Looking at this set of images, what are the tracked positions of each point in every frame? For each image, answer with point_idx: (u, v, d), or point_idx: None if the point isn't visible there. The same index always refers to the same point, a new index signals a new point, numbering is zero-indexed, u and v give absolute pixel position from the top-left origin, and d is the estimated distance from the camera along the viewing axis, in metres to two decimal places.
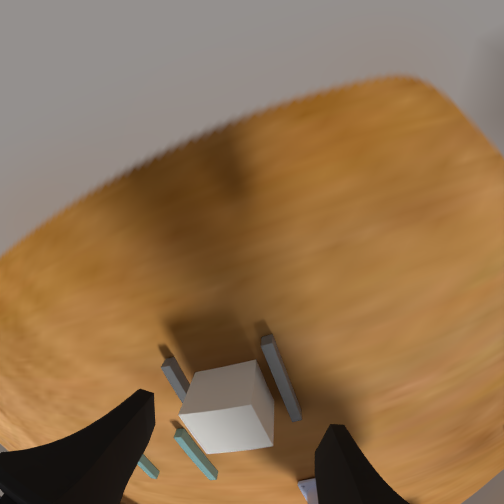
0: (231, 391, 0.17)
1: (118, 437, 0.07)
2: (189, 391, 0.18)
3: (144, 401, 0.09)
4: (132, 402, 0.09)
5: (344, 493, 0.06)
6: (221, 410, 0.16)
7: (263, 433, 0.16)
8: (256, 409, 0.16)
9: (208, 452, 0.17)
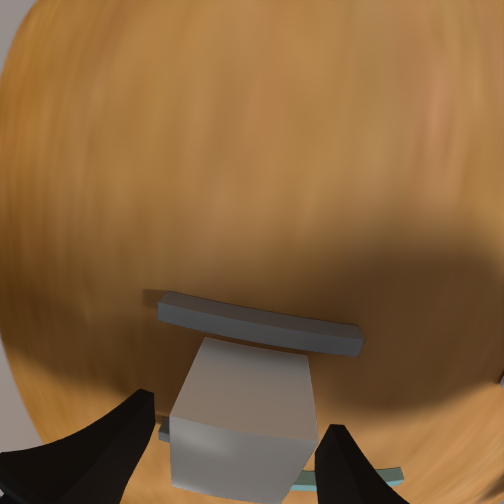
0: None
1: (118, 437, 0.07)
2: None
3: (144, 401, 0.09)
4: (132, 402, 0.09)
5: (344, 493, 0.06)
6: (172, 450, 0.08)
7: (267, 439, 0.07)
8: (203, 413, 0.08)
9: (277, 502, 0.08)
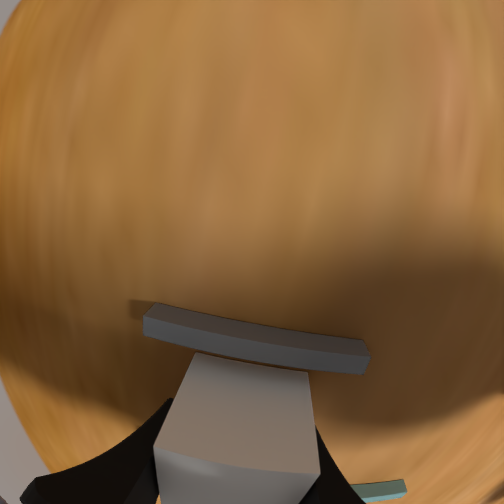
0: None
1: None
2: None
3: None
4: (165, 412, 0.09)
5: (306, 494, 0.06)
6: (158, 478, 0.06)
7: (263, 473, 0.06)
8: (191, 444, 0.06)
9: None
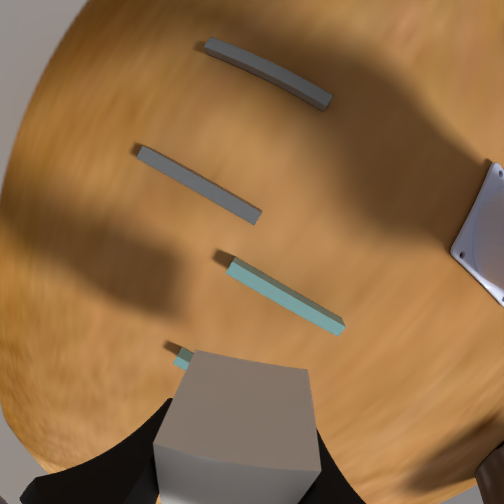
0: None
1: None
2: None
3: None
4: (165, 412, 0.09)
5: (306, 494, 0.06)
6: (159, 476, 0.06)
7: (263, 470, 0.06)
8: (190, 441, 0.06)
9: None
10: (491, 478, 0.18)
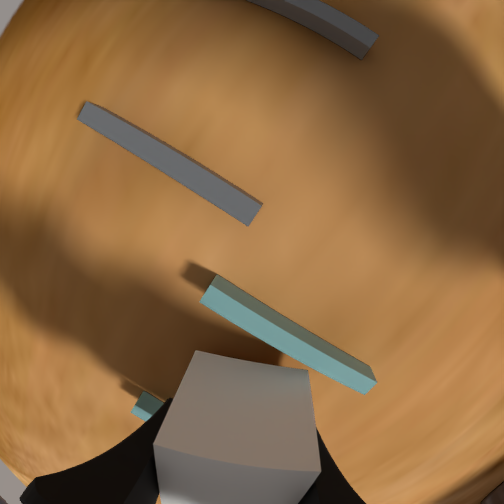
0: None
1: None
2: None
3: None
4: (165, 412, 0.09)
5: (306, 494, 0.06)
6: (159, 476, 0.06)
7: (263, 470, 0.06)
8: (191, 442, 0.06)
9: None
10: None
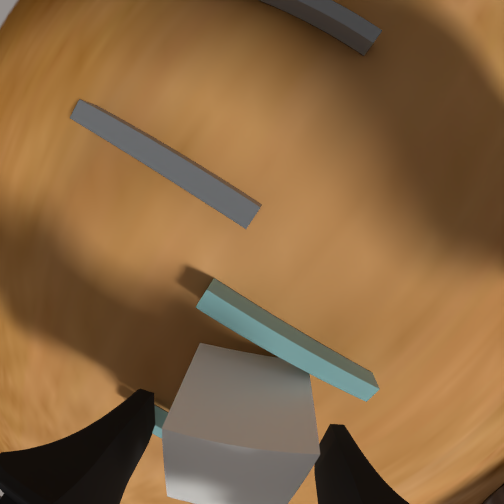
0: None
1: (118, 437, 0.07)
2: None
3: (144, 401, 0.09)
4: (132, 402, 0.09)
5: (344, 493, 0.06)
6: (166, 462, 0.07)
7: (265, 453, 0.07)
8: (197, 426, 0.07)
9: None
10: None
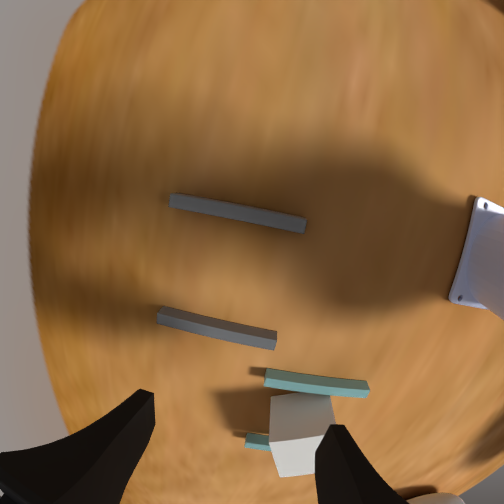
0: None
1: (118, 437, 0.07)
2: None
3: (144, 401, 0.09)
4: (132, 402, 0.09)
5: (344, 493, 0.06)
6: (274, 457, 0.16)
7: (314, 438, 0.16)
8: (283, 436, 0.16)
9: None
10: None
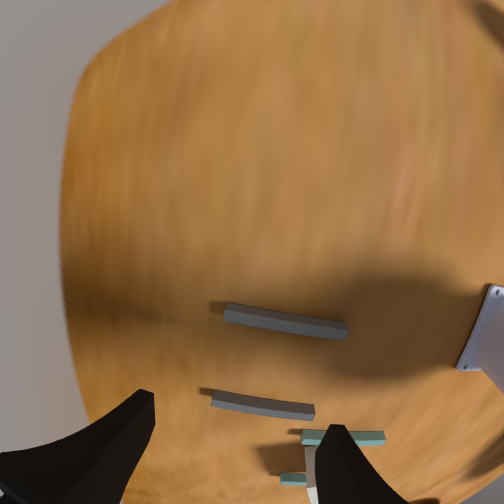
0: None
1: (118, 437, 0.07)
2: None
3: (144, 401, 0.09)
4: (132, 402, 0.09)
5: (344, 493, 0.06)
6: (309, 496, 0.18)
7: None
8: None
9: None
10: None
